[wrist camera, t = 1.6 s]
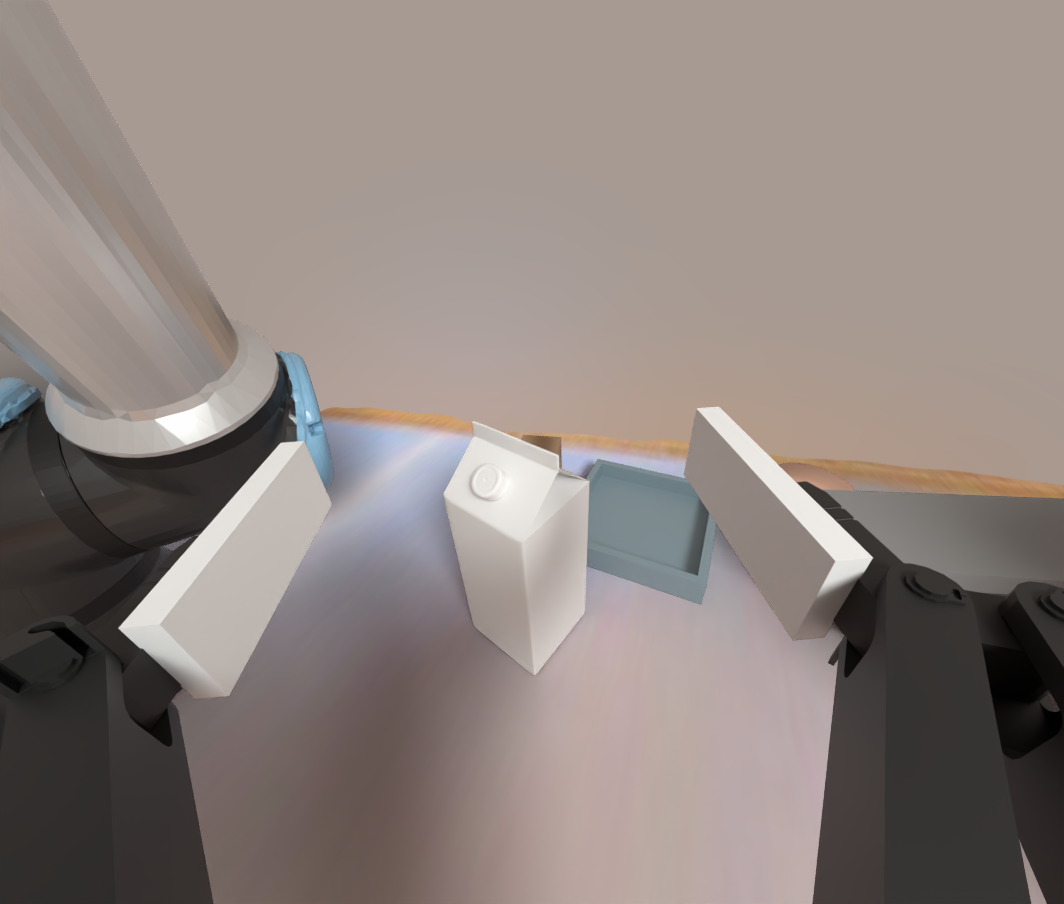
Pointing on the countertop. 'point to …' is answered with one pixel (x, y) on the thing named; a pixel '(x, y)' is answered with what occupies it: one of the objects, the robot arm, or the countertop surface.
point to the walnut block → (546, 444)
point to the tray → (649, 529)
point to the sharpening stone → (967, 535)
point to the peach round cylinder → (816, 476)
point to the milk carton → (519, 543)
